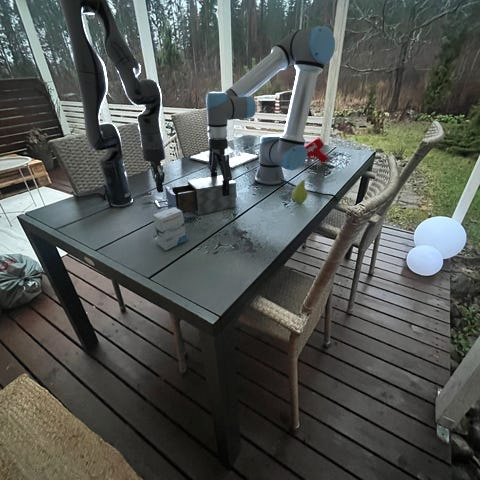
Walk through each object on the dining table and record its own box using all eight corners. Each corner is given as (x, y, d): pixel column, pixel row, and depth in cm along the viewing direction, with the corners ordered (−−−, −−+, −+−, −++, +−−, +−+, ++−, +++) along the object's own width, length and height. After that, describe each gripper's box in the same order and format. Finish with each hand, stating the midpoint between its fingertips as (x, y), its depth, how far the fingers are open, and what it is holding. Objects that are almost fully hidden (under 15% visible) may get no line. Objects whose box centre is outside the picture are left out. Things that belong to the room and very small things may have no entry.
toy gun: (331, 157, 168) (319, 136, 164) (331, 159, 164) (318, 137, 160) (306, 172, 178) (294, 153, 174) (305, 174, 174) (292, 154, 170)
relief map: (232, 168, 162) (231, 159, 159) (190, 158, 179) (189, 150, 177) (257, 157, 180) (257, 149, 177) (217, 149, 198) (217, 142, 195)
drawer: (160, 220, 104) (156, 197, 99) (154, 210, 111) (150, 189, 106) (212, 209, 113) (211, 188, 108) (203, 200, 120) (202, 180, 116)
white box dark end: (198, 215, 111) (196, 189, 105) (189, 205, 119) (187, 180, 113) (235, 207, 118) (236, 182, 112) (224, 198, 126) (224, 174, 120)
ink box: (179, 235, 98) (174, 206, 91) (187, 241, 95) (183, 210, 88) (158, 245, 93) (151, 214, 86) (165, 250, 90) (159, 219, 83)
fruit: (288, 200, 123) (290, 174, 116) (302, 197, 125) (305, 172, 119) (296, 206, 118) (299, 179, 111) (310, 203, 120) (314, 177, 114)
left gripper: (137, 142, 98) (146, 187, 107) (146, 151, 88) (154, 200, 98) (158, 140, 101) (165, 184, 110) (168, 148, 91) (175, 196, 101)
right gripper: (197, 133, 112) (201, 183, 124) (222, 145, 95) (224, 202, 106) (214, 131, 115) (216, 181, 127) (241, 142, 98) (240, 198, 109)
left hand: (160, 191), depth 104 cm, fingers closed
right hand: (220, 190), depth 117 cm, fingers closed on white box dark end, 11 cm apart
